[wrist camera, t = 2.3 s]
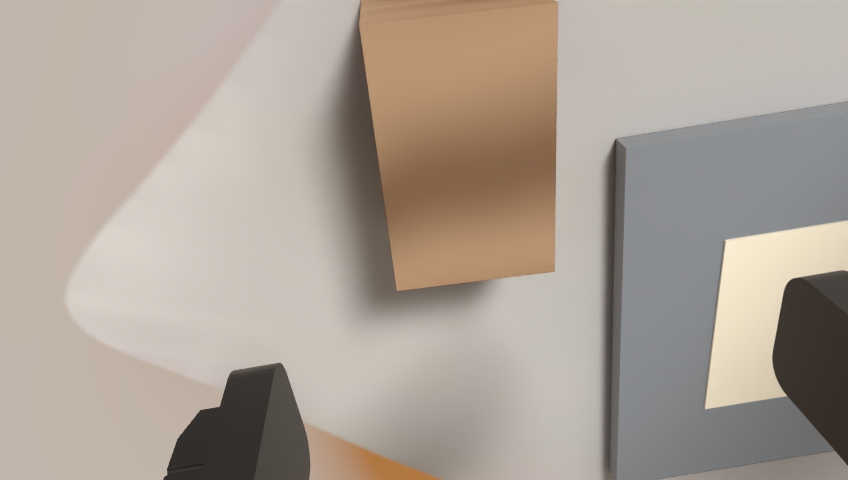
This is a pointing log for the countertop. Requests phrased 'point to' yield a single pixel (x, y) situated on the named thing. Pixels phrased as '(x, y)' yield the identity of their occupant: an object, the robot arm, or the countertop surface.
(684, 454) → the board
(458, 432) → the countertop surface
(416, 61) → the walnut brick
